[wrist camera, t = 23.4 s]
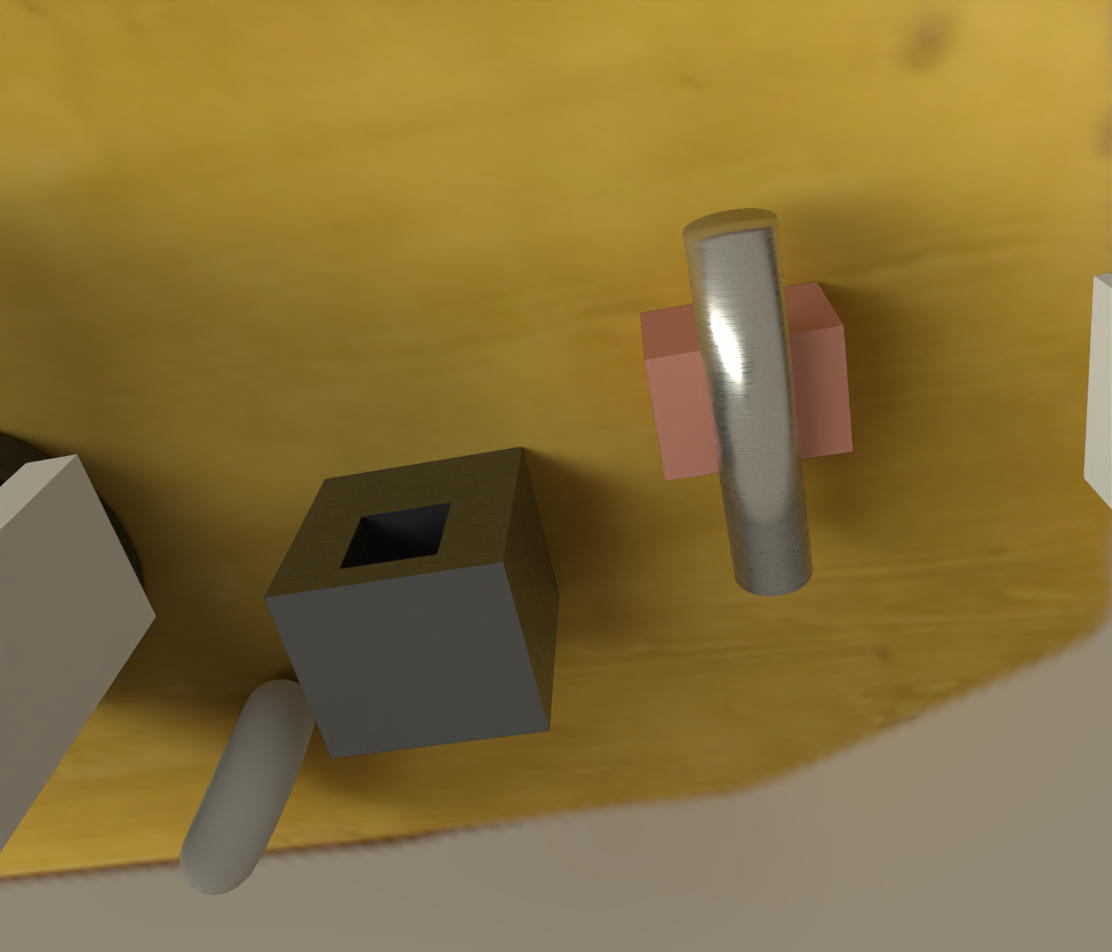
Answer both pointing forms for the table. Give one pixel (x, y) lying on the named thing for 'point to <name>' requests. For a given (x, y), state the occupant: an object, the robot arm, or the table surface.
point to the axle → (751, 395)
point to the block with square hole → (421, 606)
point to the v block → (685, 393)
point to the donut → (248, 788)
